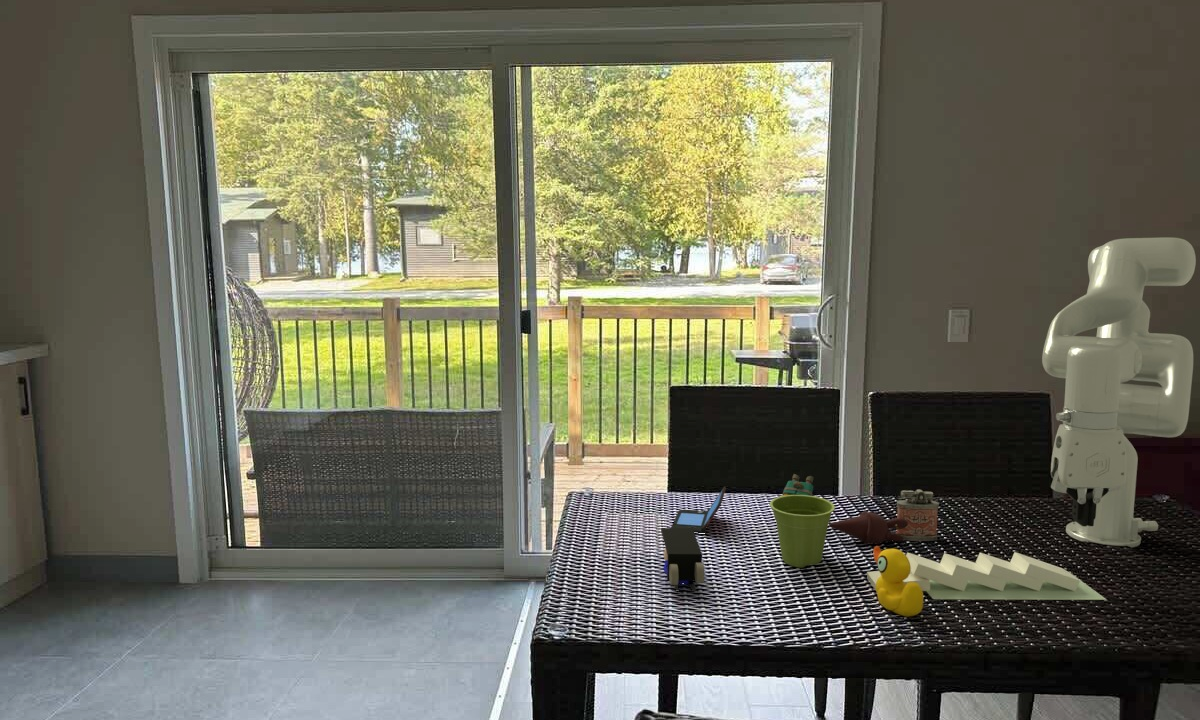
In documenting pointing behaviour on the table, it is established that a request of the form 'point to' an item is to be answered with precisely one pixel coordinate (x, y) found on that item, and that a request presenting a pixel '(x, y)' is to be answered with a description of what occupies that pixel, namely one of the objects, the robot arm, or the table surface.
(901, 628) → the table surface
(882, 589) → the duckling
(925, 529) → the lighter
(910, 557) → the domino
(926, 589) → the domino
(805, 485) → the binoculars
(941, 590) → the board
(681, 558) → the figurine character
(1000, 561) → the domino
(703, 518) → the handheld game console
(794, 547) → the plant pot
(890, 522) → the icecream
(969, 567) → the domino
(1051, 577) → the domino
